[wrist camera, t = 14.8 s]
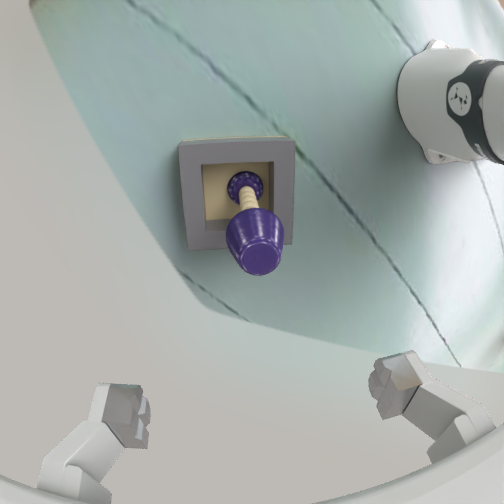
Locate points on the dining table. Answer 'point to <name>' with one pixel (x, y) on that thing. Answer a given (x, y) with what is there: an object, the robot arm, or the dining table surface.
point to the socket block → (218, 175)
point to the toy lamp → (253, 227)
